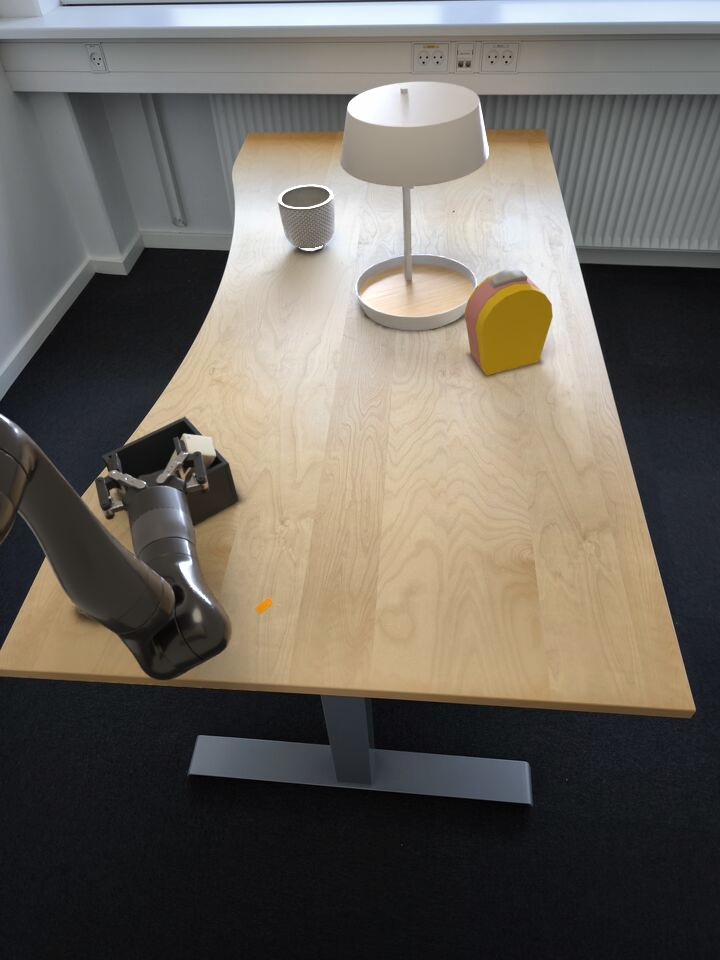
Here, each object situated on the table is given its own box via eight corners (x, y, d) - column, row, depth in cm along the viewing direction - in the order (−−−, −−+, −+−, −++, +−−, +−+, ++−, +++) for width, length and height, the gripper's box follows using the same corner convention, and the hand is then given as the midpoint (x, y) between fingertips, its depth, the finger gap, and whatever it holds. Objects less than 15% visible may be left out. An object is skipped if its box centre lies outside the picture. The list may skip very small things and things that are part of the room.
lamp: (369, 347, 154) (355, 136, 124) (340, 280, 175) (321, 85, 145) (500, 321, 158) (516, 110, 128) (456, 259, 178) (461, 64, 148)
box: (164, 495, 122) (185, 452, 115) (161, 475, 124) (181, 432, 117) (194, 497, 125) (217, 455, 118) (190, 478, 127) (212, 435, 120)
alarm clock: (527, 338, 153) (536, 257, 140) (546, 360, 147) (557, 277, 134) (461, 355, 150) (464, 274, 137) (478, 377, 144) (483, 295, 132)
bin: (156, 546, 119) (140, 508, 112) (117, 493, 128) (101, 455, 122) (238, 500, 125) (228, 462, 118) (196, 453, 134) (185, 416, 128)
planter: (273, 249, 188) (265, 200, 179) (310, 228, 195) (304, 180, 186) (312, 264, 181) (306, 214, 172) (349, 241, 188) (345, 192, 179)
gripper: (212, 494, 90) (190, 416, 101) (95, 527, 87) (86, 443, 98) (224, 534, 95) (202, 456, 106) (113, 566, 92) (103, 482, 103)
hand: (146, 449), depth 102 cm, fingers open, 8 cm apart
